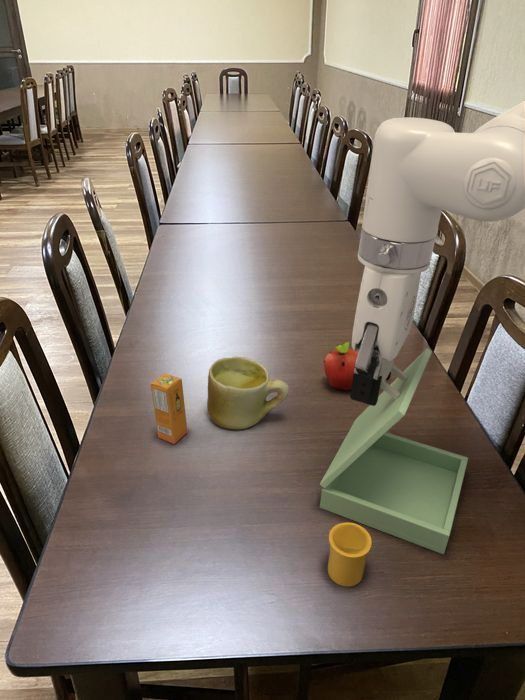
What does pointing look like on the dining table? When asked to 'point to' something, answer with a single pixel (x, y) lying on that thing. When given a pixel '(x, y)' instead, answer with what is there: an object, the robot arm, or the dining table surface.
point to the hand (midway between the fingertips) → (370, 387)
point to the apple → (340, 366)
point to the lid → (379, 414)
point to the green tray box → (400, 490)
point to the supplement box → (169, 407)
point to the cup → (348, 553)
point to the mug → (241, 392)
